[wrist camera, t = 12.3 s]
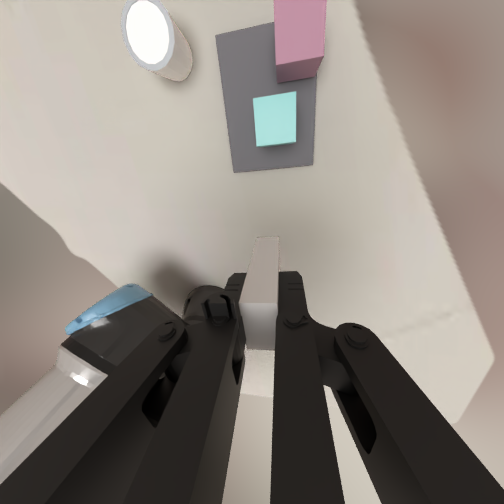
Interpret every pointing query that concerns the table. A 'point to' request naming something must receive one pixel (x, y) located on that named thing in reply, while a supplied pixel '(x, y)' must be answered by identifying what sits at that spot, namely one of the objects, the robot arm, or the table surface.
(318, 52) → the stand
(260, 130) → the teal rectangular prism
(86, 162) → the table surface
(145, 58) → the white cup
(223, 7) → the table surface
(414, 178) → the table surface
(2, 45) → the table surface
